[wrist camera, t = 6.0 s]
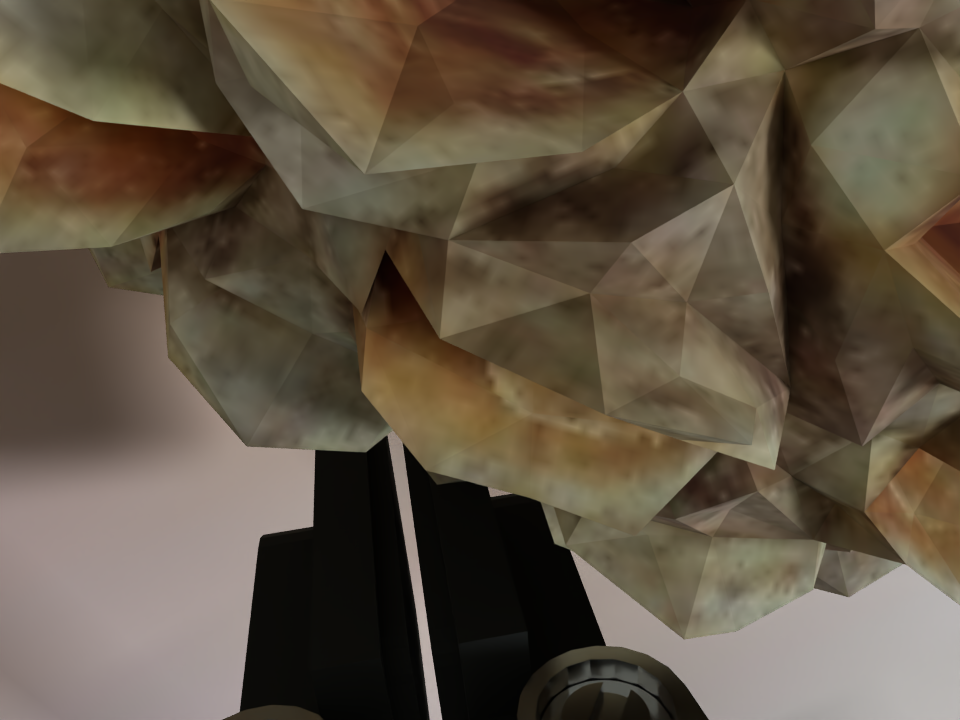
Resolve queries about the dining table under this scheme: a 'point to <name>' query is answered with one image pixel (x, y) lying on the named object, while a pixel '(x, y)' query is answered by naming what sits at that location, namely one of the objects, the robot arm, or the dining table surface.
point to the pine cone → (544, 256)
